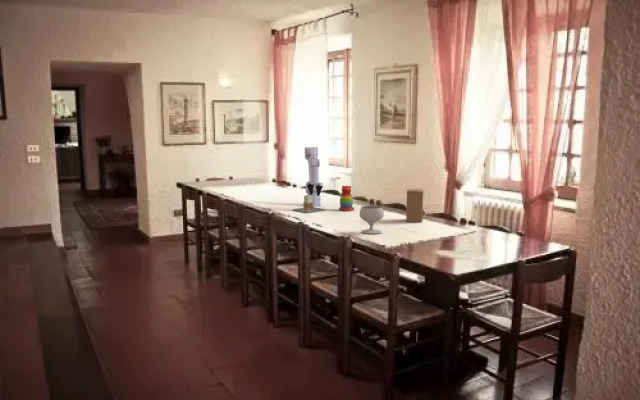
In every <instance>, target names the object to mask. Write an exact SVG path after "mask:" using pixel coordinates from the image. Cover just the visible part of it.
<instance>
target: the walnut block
mask: <svg viewBox="0 0 640 400" xmlns="http://www.w3.org/2000/svg"><path fill="white" fill-rule="evenodd" d="M302 205H303V206H302V208H303V210H313V207H314V206H313V203H304V202H303V204H302Z"/></svg>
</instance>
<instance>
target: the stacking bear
mask: <svg viewBox="0 0 640 400" xmlns="http://www.w3.org/2000/svg"><path fill="white" fill-rule="evenodd" d="M351 192H352V185H342V186H341V194H340V198H339V205H340V207H339V208H338V211H340V212H353V211H354V210H355V207H354V206H353V205H354V198H353V195H352V193H351Z"/></svg>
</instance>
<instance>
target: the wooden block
mask: <svg viewBox="0 0 640 400" xmlns="http://www.w3.org/2000/svg"><path fill="white" fill-rule="evenodd" d="M405 213H406V219H405V222H406V223H420V222H422V223H423V221H424V220H423V219H424V217H423V215H424V189H421V188H407V190H406V212H405Z"/></svg>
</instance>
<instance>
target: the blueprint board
mask: <svg viewBox="0 0 640 400" xmlns="http://www.w3.org/2000/svg"><path fill="white" fill-rule="evenodd" d="M292 211H293V212H298V213H302V214H312V213H318V212H323V211H326V208H325V209H324V208H320V207H315V206H313V210H303V207H301V208H300V207H299V208H294V209H291V212H292Z"/></svg>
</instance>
